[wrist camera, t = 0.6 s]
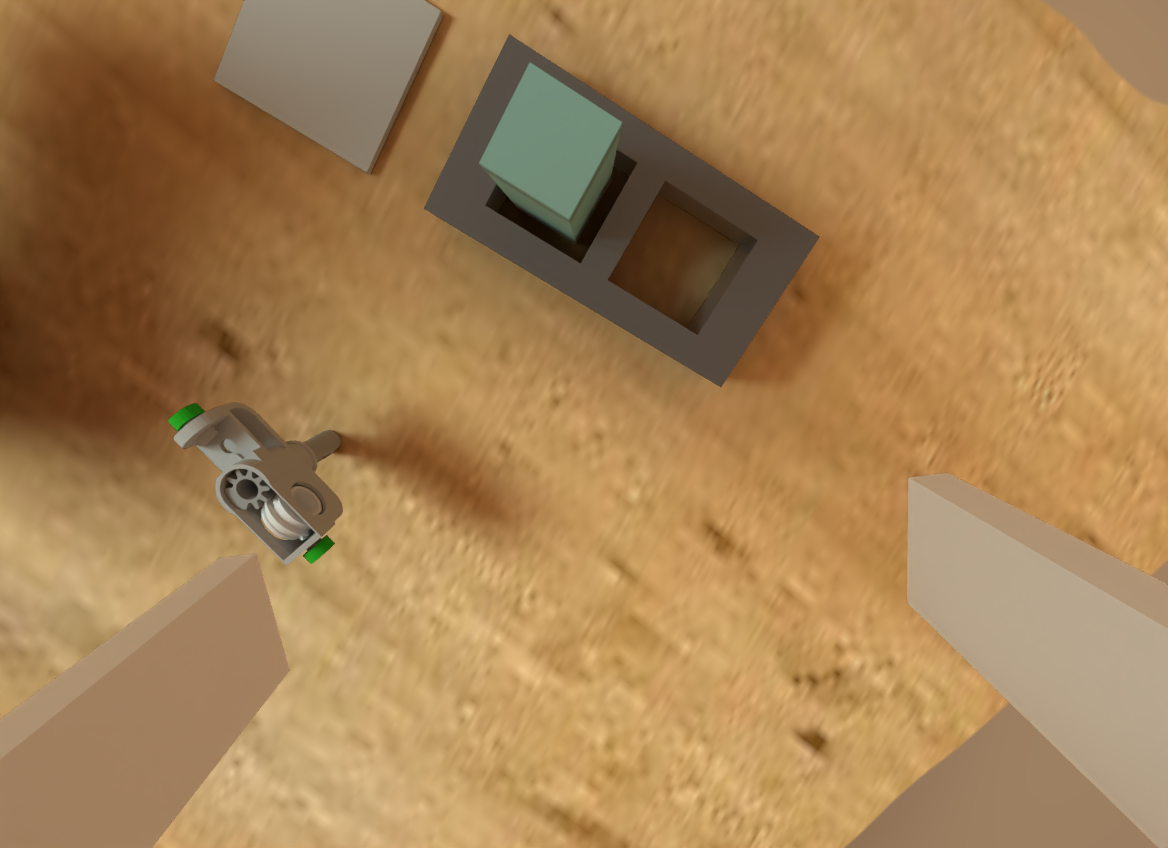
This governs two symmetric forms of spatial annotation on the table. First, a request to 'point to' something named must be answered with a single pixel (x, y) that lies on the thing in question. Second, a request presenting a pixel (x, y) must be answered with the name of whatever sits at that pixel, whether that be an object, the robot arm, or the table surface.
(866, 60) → the table surface
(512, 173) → the plug
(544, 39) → the table surface
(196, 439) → the mechanical component
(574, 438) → the table surface
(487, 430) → the table surface
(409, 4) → the mat
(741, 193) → the cinder block
